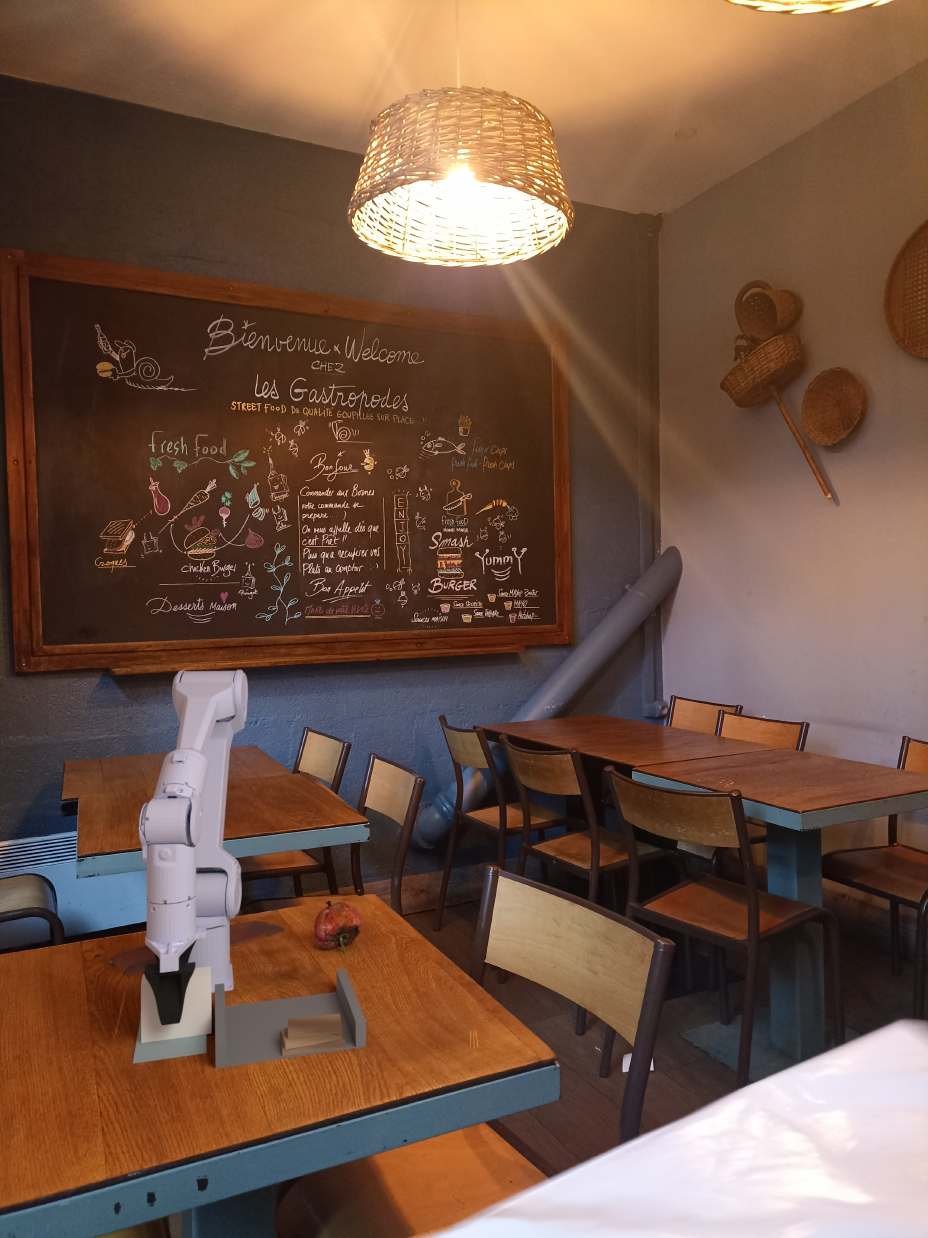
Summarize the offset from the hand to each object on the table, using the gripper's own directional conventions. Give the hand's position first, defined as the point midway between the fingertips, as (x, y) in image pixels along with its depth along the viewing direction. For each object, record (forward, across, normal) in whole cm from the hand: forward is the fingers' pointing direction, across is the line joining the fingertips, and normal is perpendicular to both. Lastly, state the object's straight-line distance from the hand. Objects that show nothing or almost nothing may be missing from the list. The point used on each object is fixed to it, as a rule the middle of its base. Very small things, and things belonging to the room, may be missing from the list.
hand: (172, 1009), depth 104 cm
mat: (+3, 0, 0) cm, 3 cm away
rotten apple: (+4, +23, -24) cm, 33 cm away
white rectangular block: (+3, 0, -1) cm, 3 cm away
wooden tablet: (+4, +31, -3) cm, 31 cm away
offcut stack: (+3, -8, -16) cm, 18 cm away
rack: (+3, -2, -14) cm, 14 cm away
